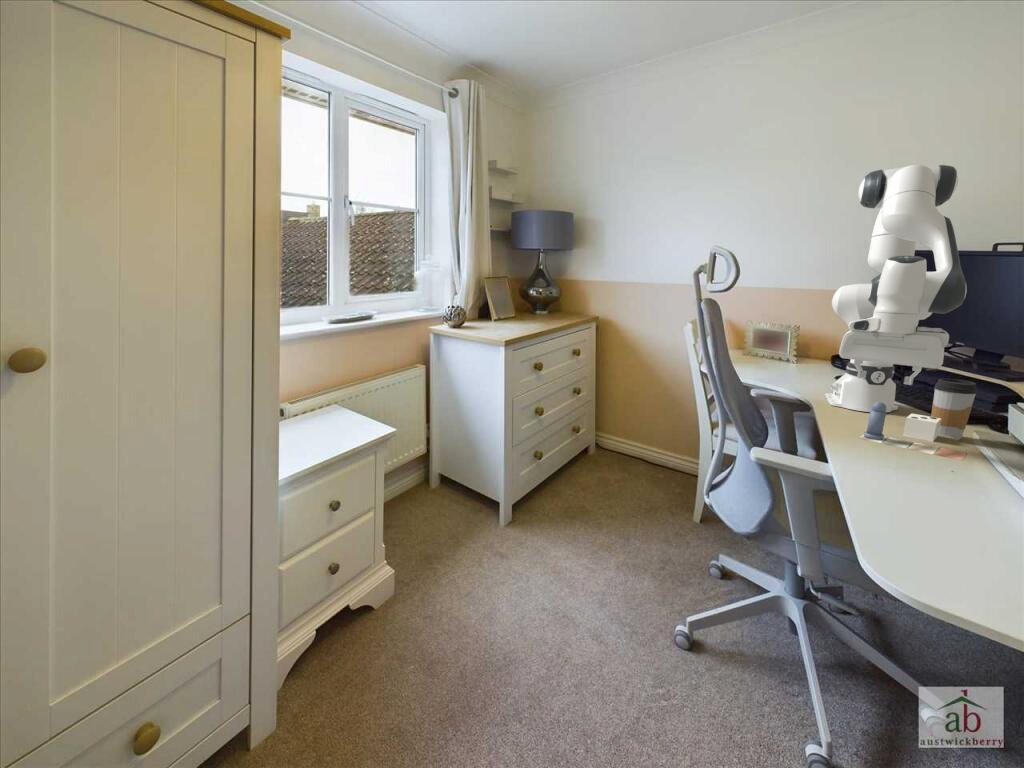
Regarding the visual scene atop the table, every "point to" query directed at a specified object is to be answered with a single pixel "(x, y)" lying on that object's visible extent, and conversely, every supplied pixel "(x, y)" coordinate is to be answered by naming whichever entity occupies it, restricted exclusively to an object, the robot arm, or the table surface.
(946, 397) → the coffee cup
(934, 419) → the die
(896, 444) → the board
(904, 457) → the table surface
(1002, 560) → the table surface
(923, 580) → the table surface
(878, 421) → the pawn
